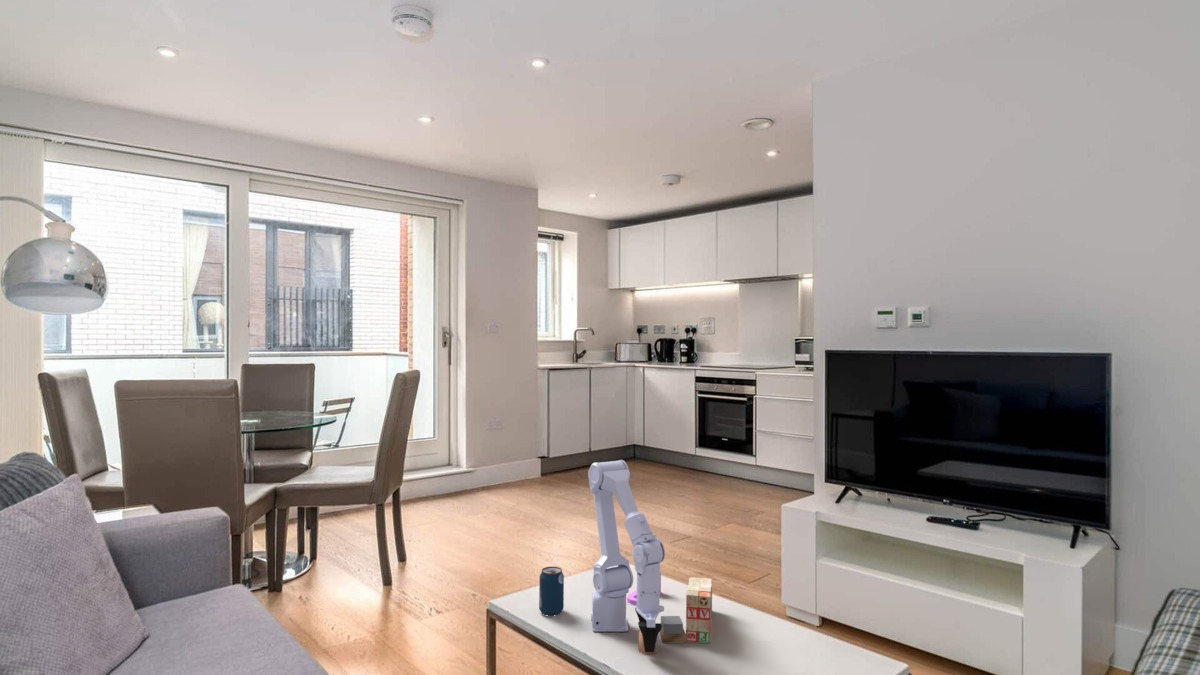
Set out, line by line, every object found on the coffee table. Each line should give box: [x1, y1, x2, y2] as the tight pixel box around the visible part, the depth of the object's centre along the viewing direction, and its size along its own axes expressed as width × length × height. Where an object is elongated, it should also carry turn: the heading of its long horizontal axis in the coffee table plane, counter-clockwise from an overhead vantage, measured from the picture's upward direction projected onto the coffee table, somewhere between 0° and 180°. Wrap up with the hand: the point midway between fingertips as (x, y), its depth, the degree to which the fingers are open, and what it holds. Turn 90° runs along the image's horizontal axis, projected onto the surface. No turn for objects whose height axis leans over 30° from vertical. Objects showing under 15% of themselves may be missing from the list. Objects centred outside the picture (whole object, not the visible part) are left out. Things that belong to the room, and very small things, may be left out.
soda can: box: [538, 566, 565, 617], centre depth 182 cm, size 7×7×12 cm
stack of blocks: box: [685, 576, 713, 644], centre depth 175 cm, size 21×6×12 cm, turn 169°
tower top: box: [660, 615, 684, 634], centre depth 167 cm, size 5×5×2 cm
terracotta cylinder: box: [638, 629, 658, 656], centre depth 160 cm, size 4×4×4 cm
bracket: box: [626, 572, 662, 606], centre depth 194 cm, size 13×6×7 cm, turn 147°
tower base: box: [659, 628, 687, 644], centre depth 167 cm, size 6×6×2 cm
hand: (647, 644), depth 160 cm, fingers open, 7 cm apart
